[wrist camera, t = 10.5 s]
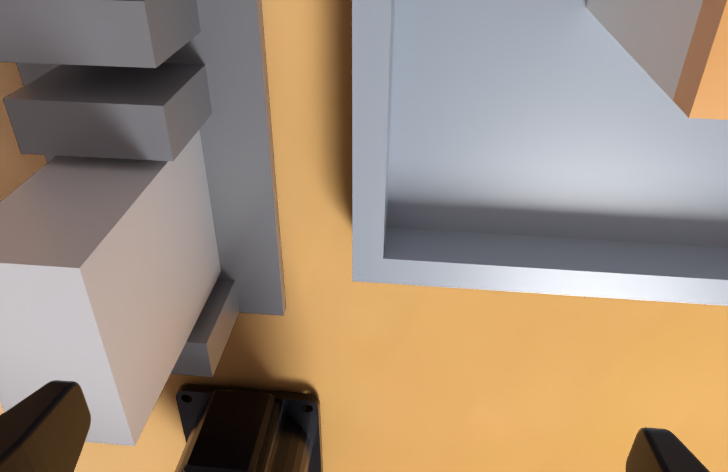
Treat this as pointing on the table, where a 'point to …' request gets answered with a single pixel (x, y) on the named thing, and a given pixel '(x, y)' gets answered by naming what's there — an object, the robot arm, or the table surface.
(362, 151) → the tray
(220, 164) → the clip block
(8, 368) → the block
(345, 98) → the table surface
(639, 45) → the block
